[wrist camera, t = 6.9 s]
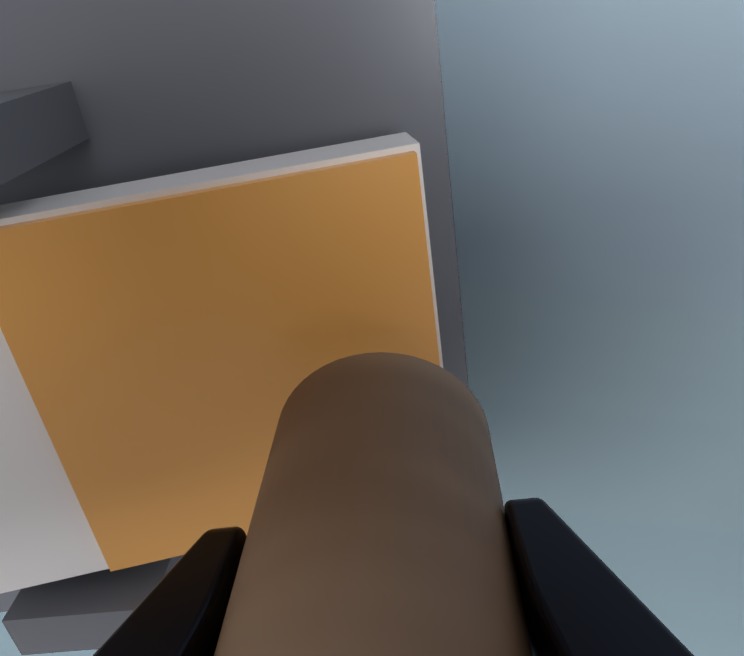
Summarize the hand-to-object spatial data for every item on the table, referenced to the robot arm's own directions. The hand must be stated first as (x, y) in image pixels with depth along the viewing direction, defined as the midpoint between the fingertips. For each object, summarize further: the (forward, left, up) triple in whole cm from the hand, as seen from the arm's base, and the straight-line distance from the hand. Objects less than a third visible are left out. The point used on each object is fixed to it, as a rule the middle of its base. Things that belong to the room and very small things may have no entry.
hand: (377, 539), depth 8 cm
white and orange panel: (+6, 0, -4) cm, 7 cm away
